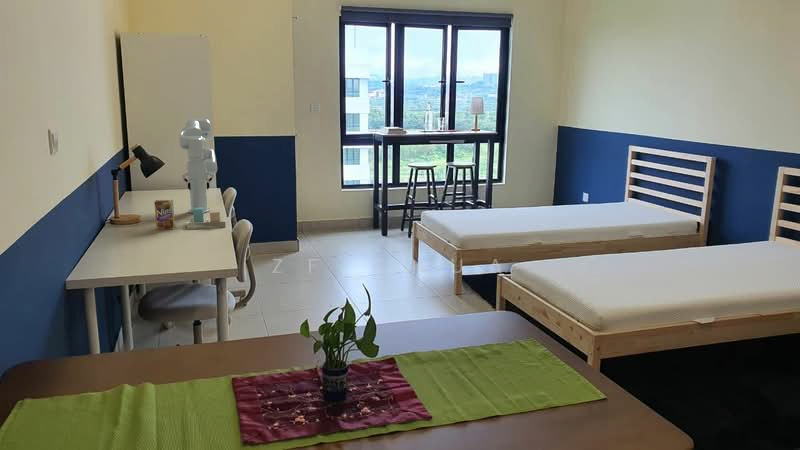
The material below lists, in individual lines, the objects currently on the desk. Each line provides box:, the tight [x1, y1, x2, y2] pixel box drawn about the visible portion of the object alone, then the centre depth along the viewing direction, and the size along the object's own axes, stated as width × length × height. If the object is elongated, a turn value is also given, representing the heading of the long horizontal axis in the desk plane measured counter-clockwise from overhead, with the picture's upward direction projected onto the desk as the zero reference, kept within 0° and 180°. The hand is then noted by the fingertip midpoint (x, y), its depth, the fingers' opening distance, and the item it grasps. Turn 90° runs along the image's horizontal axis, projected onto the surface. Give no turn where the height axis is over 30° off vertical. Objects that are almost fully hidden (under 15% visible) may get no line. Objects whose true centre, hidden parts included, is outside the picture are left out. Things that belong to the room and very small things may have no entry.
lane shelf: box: [186, 217, 227, 230], centre depth 337 cm, size 10×20×3 cm, turn 105°
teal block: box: [192, 207, 205, 223], centre depth 350 cm, size 16×5×8 cm, turn 15°
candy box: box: [153, 199, 176, 230], centre depth 329 cm, size 9×4×15 cm, turn 98°
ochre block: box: [209, 210, 221, 222], centre depth 337 cm, size 5×5×8 cm
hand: (198, 189), depth 353 cm, fingers open, 9 cm apart
